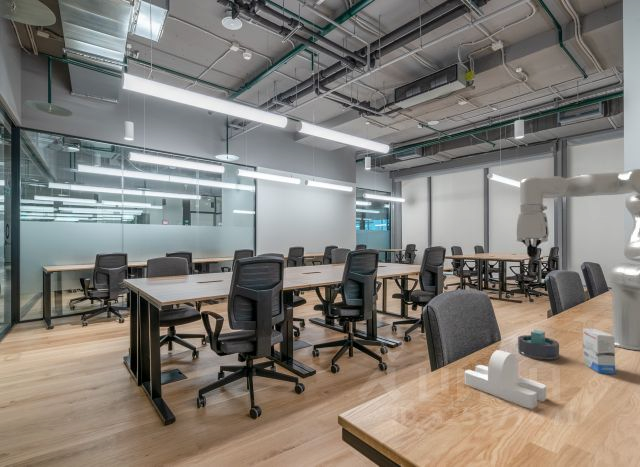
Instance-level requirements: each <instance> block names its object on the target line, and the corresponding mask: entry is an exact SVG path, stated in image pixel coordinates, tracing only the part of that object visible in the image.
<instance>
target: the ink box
mask: <svg viewBox="0 0 640 467" xmlns="http://www.w3.org/2000/svg"><path fill="white" fill-rule="evenodd" d="M582 332H583V333H582V334H583V335H582V337H583V338H582V339H583V340H582V341H583V342H582V343H583V344H582V345H583V346H582V347H583V348H582V349H583V352H582V353H583V364H584V365H585V366H587V367H589V368H590V369H592V370H593V371H595V372H597V373H598V374H610V375H611V374H612V375H615V374H616V355H615V354H616V352H615V347H616V346H614V336H612V334H609V333H608V332H605V331H604V330H601V329H597V328H583V329H582Z"/></svg>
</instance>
